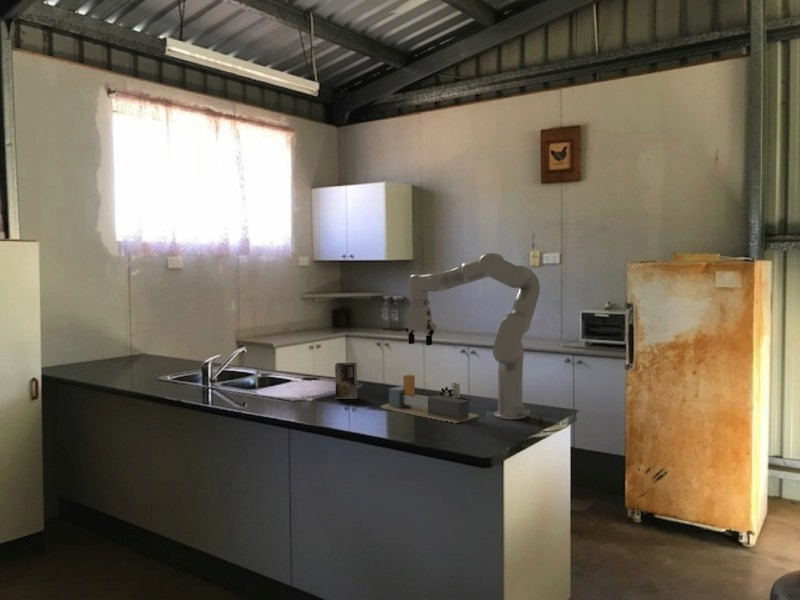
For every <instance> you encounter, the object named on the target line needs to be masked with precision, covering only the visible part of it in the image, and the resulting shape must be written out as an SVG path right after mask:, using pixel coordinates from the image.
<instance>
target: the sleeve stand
mask: <svg viewBox="0 0 800 600" xmlns="http://www.w3.org/2000/svg"><path fill="white" fill-rule="evenodd" d="M427 397H428V409H425V408H420V407H415V406H410V405H405V406H400V407H396V406H391V405H389V403H387V404H382V405H380V408H381V409H383V410H384V409H385V410H388V411H394V412H398V413H403V414H407V415H411V416H418V417H423V418H426V417H427V419H431V418H432V420H436V419H437V420H436V421H441V420H442V422H445V421H448V422H447V423H450V422H453V423H452V424H455V423H458V424H461V423H460V422H462V423H464V422H463V421H465V422H468V421H471V420H470V419H472V420H474V419H473V418H475V419H478V418H477V417H479V418H480V414H477V413H471V412H469V411H470V410H469V409H470V408H469V407H470V405H469V404H470V403H469V400H466V399H461V398H450V397H446V396H445V395H444V396H442V395H440V394H439V395H437V394H436V395H434V396H433V395H432V396H427ZM467 420H468V421H467Z"/></svg>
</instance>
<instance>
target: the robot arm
mask: <svg viewBox="0 0 800 600" xmlns="http://www.w3.org/2000/svg"><path fill="white" fill-rule="evenodd" d="M486 278H492V280H493V279H494V280H495V281H497V282H499V283H501V284H503V285H505V286H508V287H510V288H512V289H517V294H516V295H515V298H514V301H513V305H512V308H511V311H510V312H509V313H508V314H506V315H504V317H503V318H502V320H501V322H500V325H499V328H498V329H497V330H498V331H497V334H496V336H495V339H494V340H495V341H494V344H493V346H492V347H493V348H492V356H493V358H494V359H495V361H496V362H498V368H497V369H498V370H497V371H498V372H497V376H498V377H497V392H498V393H497V409H498V410H496V411H494V412H493V415H494V417H495V416H496V418H498V419H502V420H522V419H525V418H526V417H527V416H530V414H531V410H530V409H528V408H526V407H525V405H523V375H524V374H523V371H524V370H523V368H524V367H523V366H524V356H525V349H524V345H523V343H522V339H523V338H524V335H525V334H526V333H527V332H528V331H529V330H530V328H531V323H532V320H533V317H534V313H535V310H536V307H537V303H538V300H539V297H540V292H541V291H540V290H541V286H540V281H539V278H538V276H537V275H536V273H535V272H534V271H533V270H532V269H531V268H529V267H528V266H524V265H516V264H514V263H512V262H510V261H508V260H505V258H504V257H503V256H502V255H501V254H499V253H495V252H487V253H484V254H483V255H481V256H480V257H476V258H475V259H471V260H468V261H464V262H462V263H461V264H460V265H459V266H458V267H455V268H453V269H449V270H447V271H443V272H435V273H428V274H424V273H423V274H422V273H420V274H419V273H418V274H415V273H414V274H411V275H410V276H409V299H410V301H409V302H410V303H409V305H410V307H409V309H408V315H407V316H408V317H407V318H408V320H407V321H406V322H404V323H403V327H404V329H405V332H406V334H407V336H408V339H407V340H408V345H413V344H415V343H416V342H415V339H416V338H415V332H424V333H425V334H426V336H425V345H426V346H432V345H433V336H434V334H435V333H436V329H437V324H435V323H434V321H433V316H432V311H431V307H430V306H429V305H430V304H431V302H430V301H429V292H432V293H435V292H443V291H447V290H450V289H452V288H457V287H459V286H462V285H467V284H469V283H474V282H476V281H479V280H482V279H486Z"/></svg>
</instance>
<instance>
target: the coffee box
mask: <svg viewBox="0 0 800 600" xmlns="http://www.w3.org/2000/svg"><path fill="white" fill-rule="evenodd" d="M357 367H358V366H357V362H337V363H336V364H335V365H334V374H335V375H334V376H335V377H334V378H335V380H334V381H335V400H336V399H356V400H357V398H358V384H357V383H358V377H357V376H358V374H357V371H358V370H357Z"/></svg>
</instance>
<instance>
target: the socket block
mask: <svg viewBox="0 0 800 600" xmlns="http://www.w3.org/2000/svg"><path fill="white" fill-rule="evenodd" d="M401 393H404V385H401V386H396V387H392V388H391V387H390V388H388V404H389V405H391V406H396V407H400V406H405V404H401Z"/></svg>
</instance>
